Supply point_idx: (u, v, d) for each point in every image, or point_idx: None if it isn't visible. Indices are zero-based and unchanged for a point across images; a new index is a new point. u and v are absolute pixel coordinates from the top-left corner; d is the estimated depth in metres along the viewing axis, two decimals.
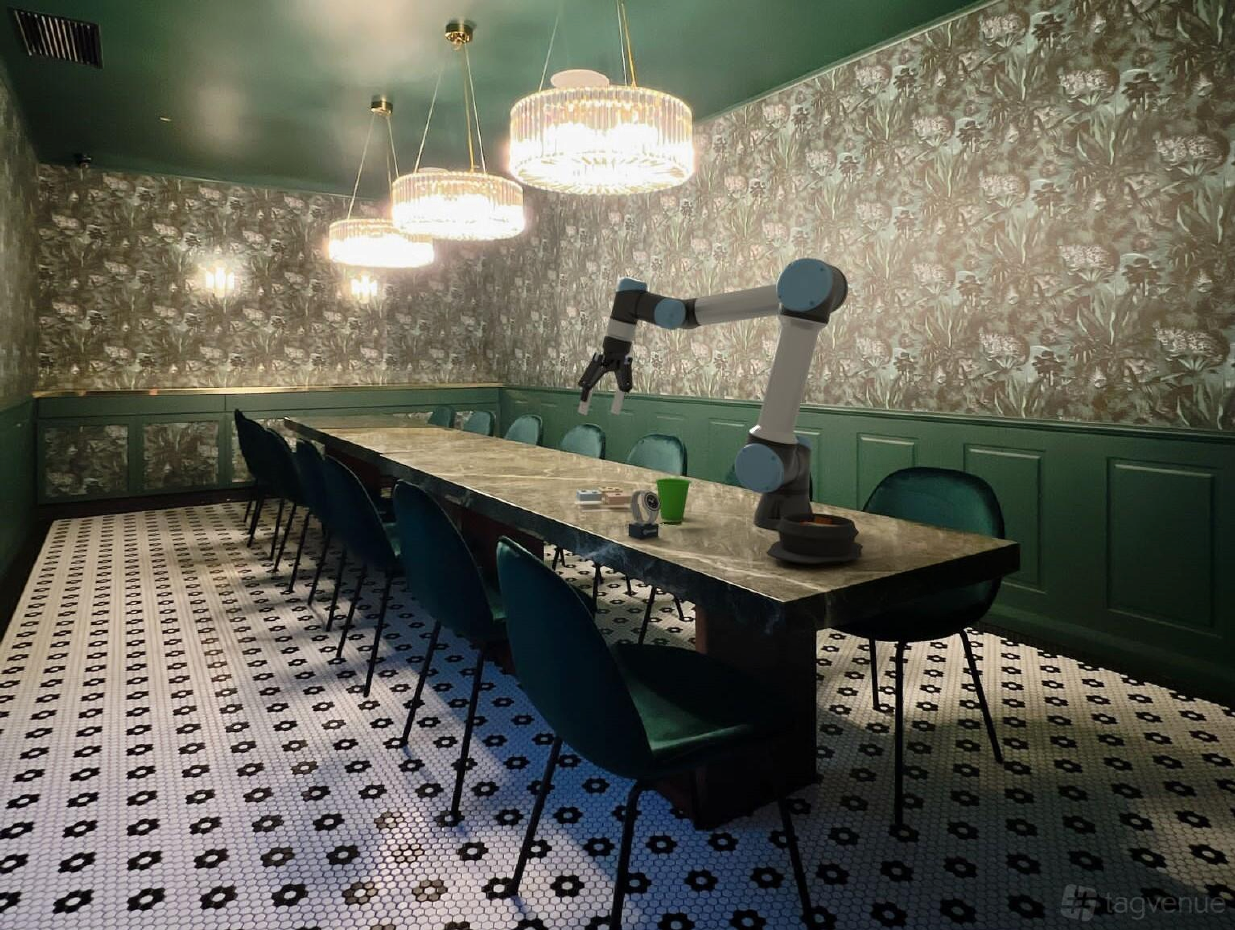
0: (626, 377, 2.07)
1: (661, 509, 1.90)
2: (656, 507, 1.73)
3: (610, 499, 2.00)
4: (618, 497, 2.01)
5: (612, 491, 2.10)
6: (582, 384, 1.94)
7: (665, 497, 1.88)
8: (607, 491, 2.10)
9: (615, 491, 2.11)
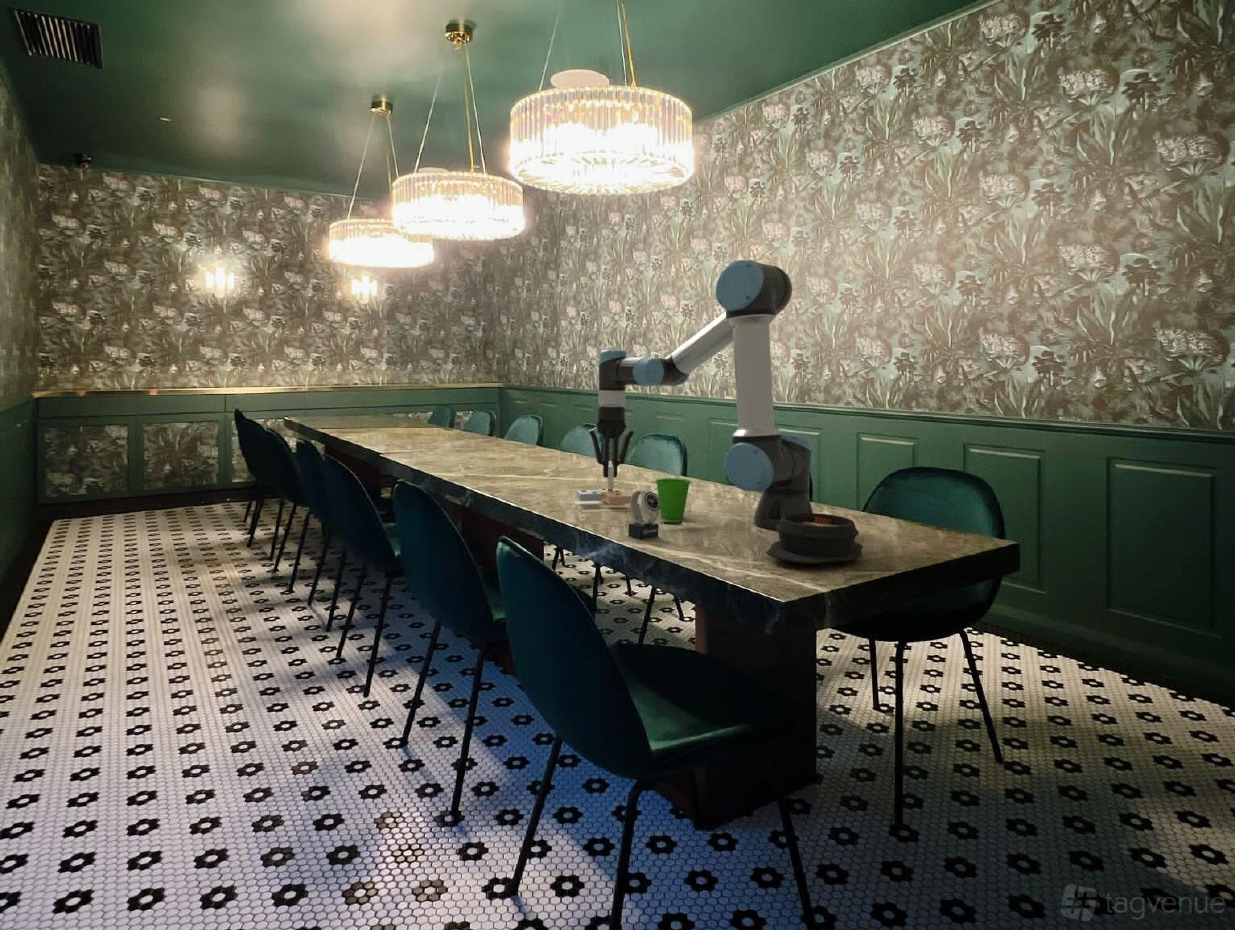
0: (622, 450, 2.13)
1: (661, 509, 1.90)
2: (656, 507, 1.73)
3: (610, 499, 2.00)
4: (618, 497, 2.01)
5: None
6: (598, 461, 2.11)
7: (665, 497, 1.88)
8: None
9: None
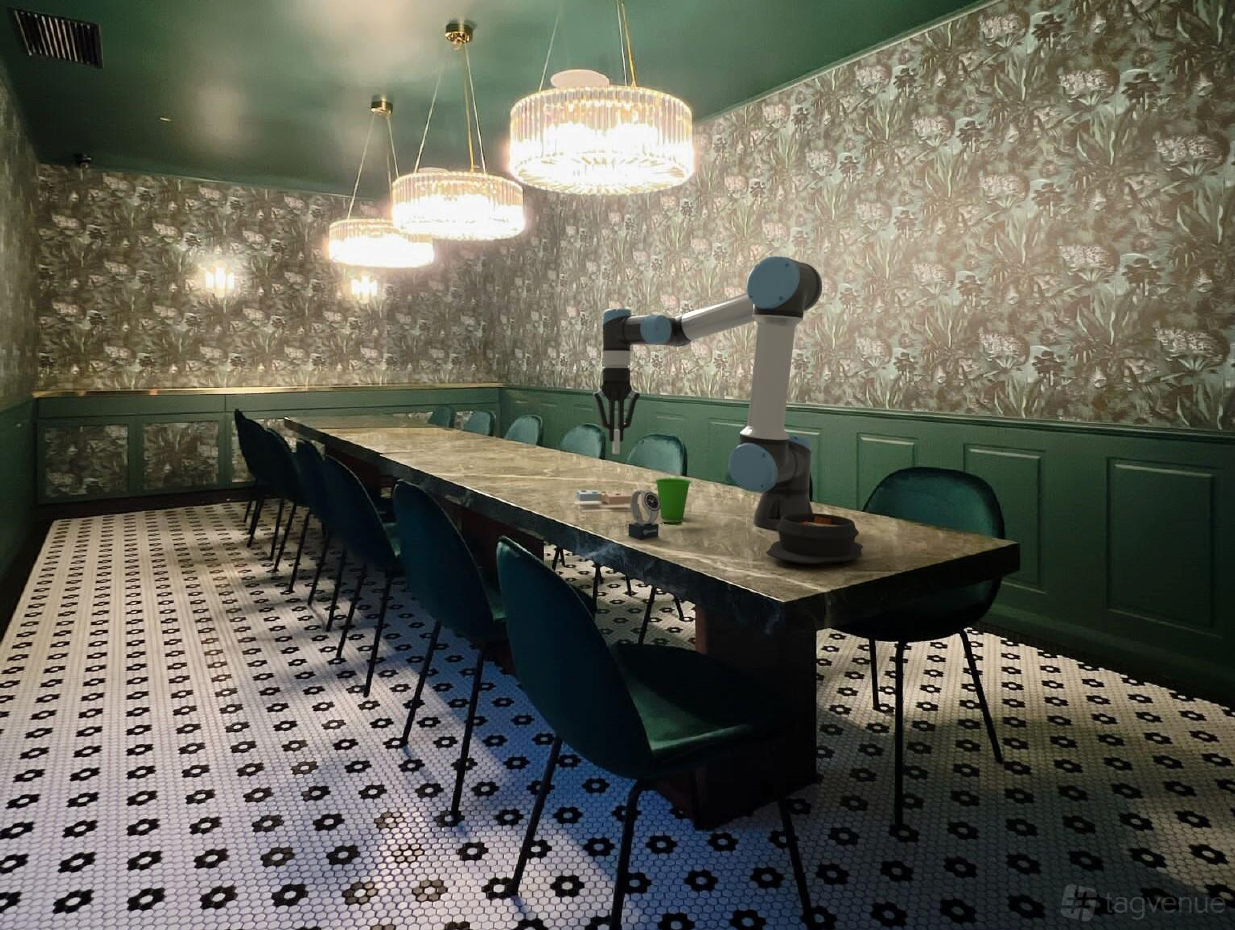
0: (628, 413, 2.06)
1: (661, 509, 1.90)
2: (656, 507, 1.73)
3: (610, 499, 2.00)
4: (618, 497, 2.01)
5: None
6: (603, 424, 2.05)
7: (665, 497, 1.88)
8: None
9: None
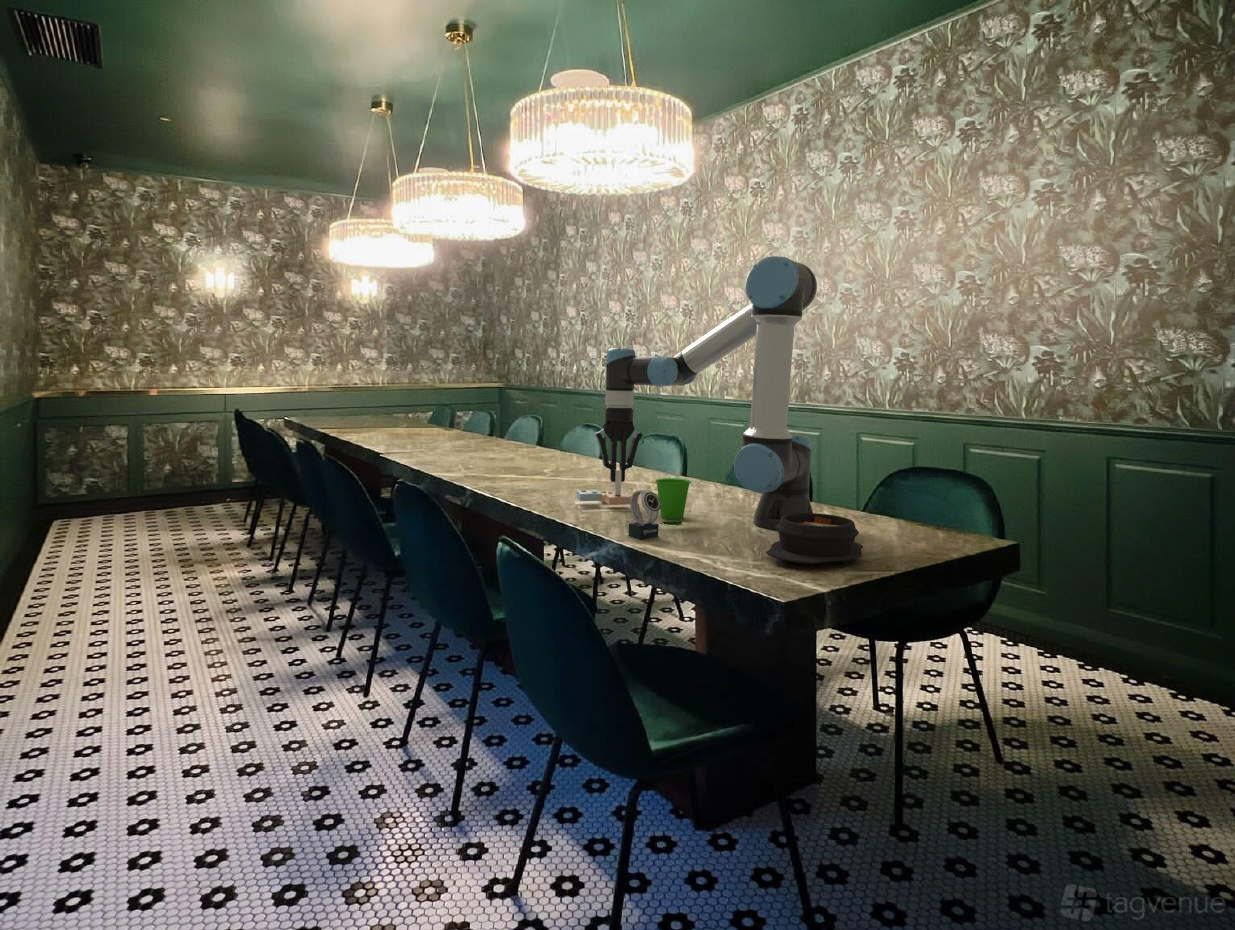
0: (630, 453, 2.03)
1: (661, 509, 1.90)
2: (656, 507, 1.73)
3: (610, 500, 2.00)
4: (618, 498, 2.01)
5: None
6: (605, 464, 2.02)
7: (665, 497, 1.88)
8: None
9: None
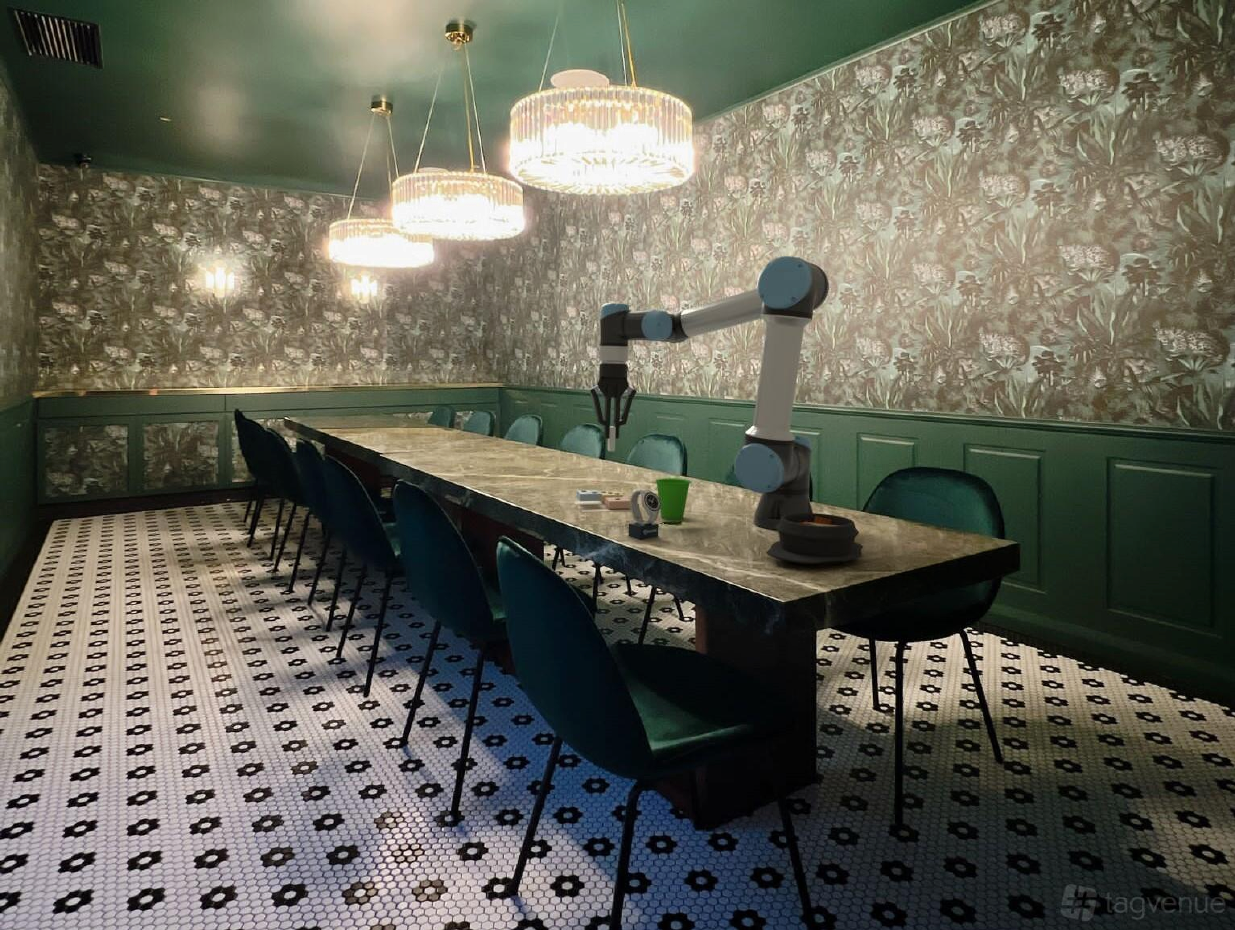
0: (624, 409, 2.02)
1: (661, 509, 1.90)
2: (656, 507, 1.73)
3: (610, 504, 2.00)
4: (618, 502, 2.01)
5: (612, 496, 2.11)
6: (599, 421, 2.01)
7: (665, 497, 1.88)
8: (607, 496, 2.10)
9: (615, 496, 2.11)
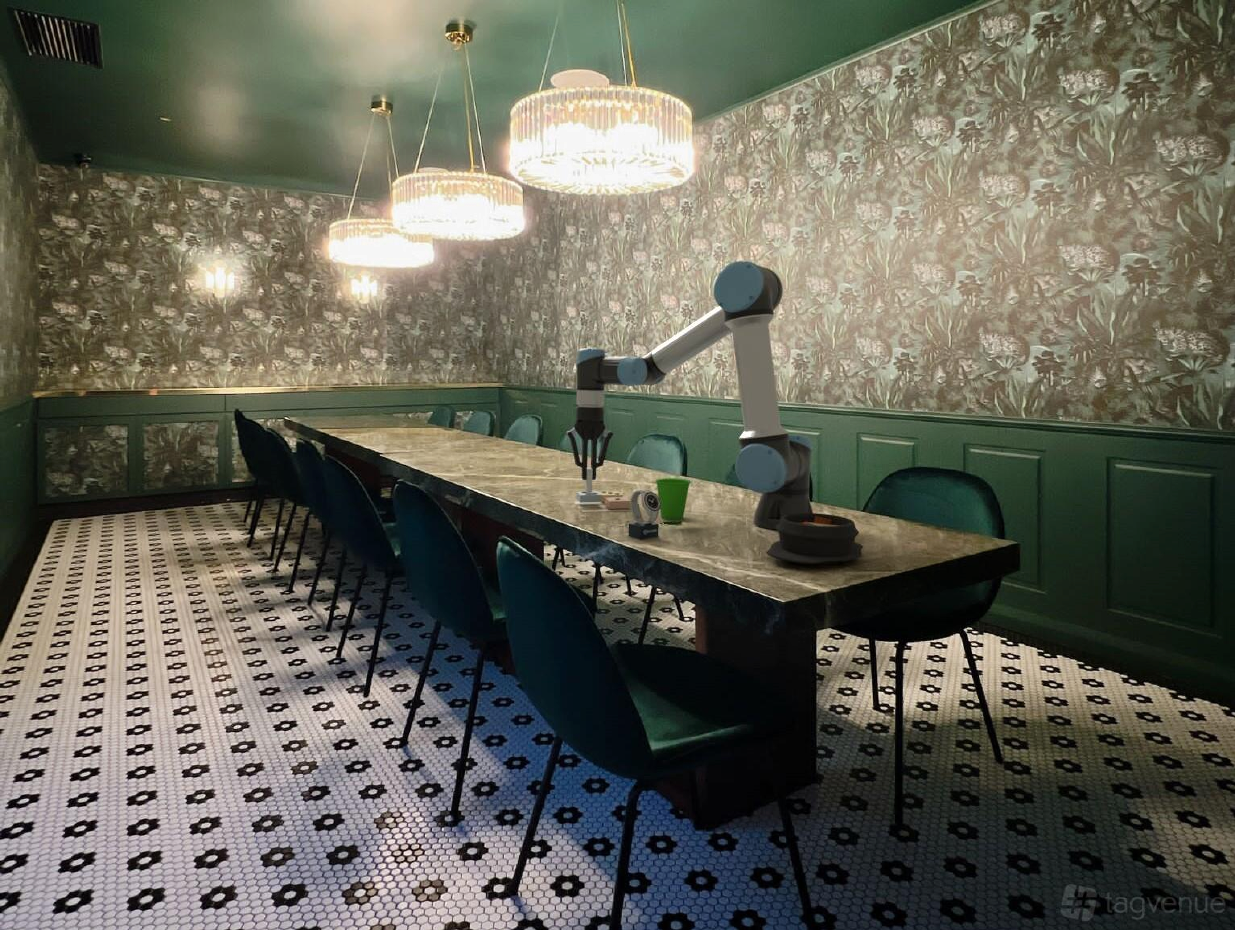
0: (601, 451, 2.06)
1: (661, 509, 1.90)
2: (656, 507, 1.73)
3: (610, 504, 2.00)
4: (618, 502, 2.01)
5: (612, 496, 2.11)
6: (576, 463, 2.05)
7: (665, 497, 1.88)
8: (607, 496, 2.10)
9: (615, 496, 2.11)
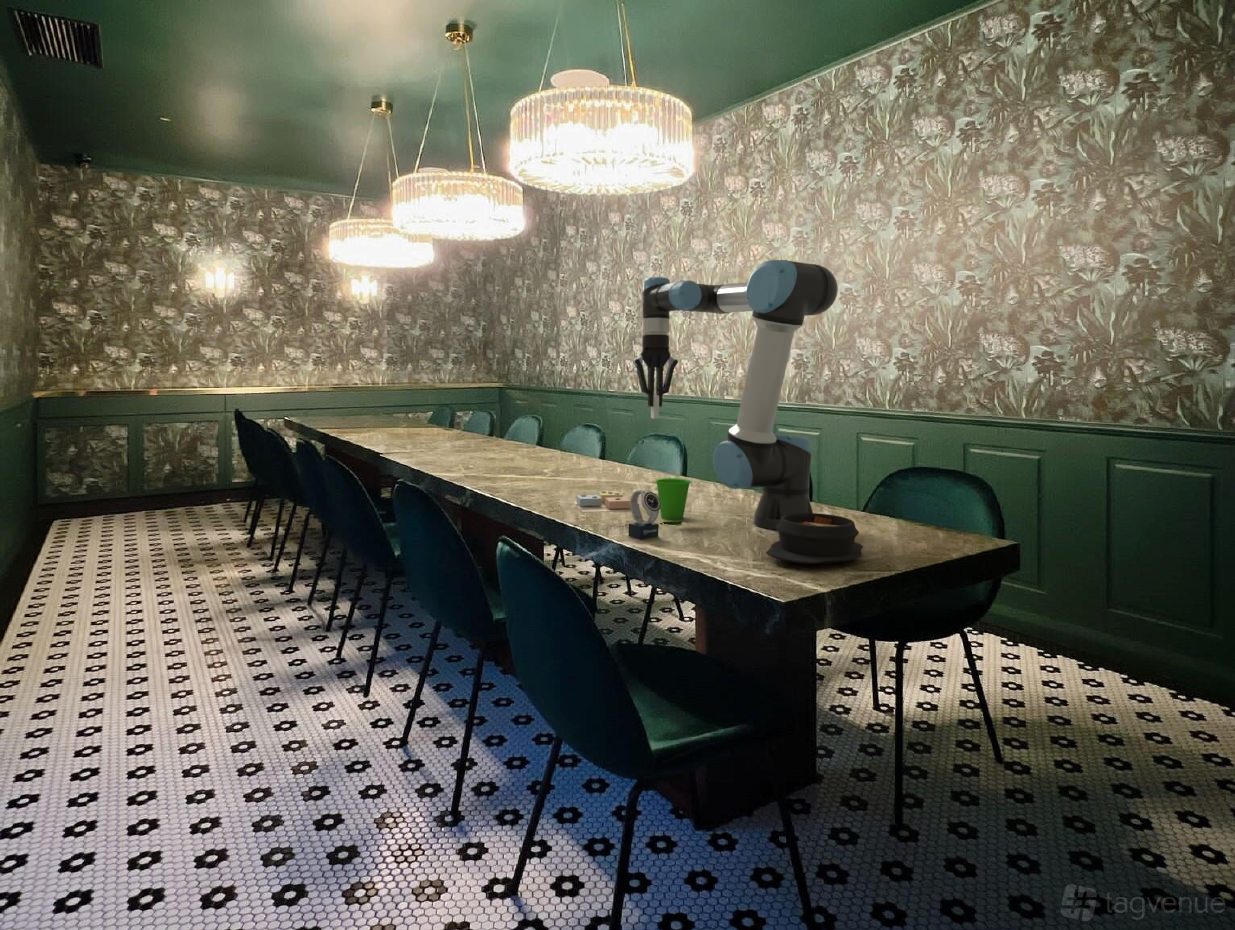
0: (666, 379, 2.13)
1: (661, 509, 1.90)
2: (656, 507, 1.73)
3: (610, 504, 2.00)
4: (618, 502, 2.01)
5: (612, 496, 2.11)
6: (643, 390, 2.11)
7: (665, 497, 1.88)
8: (607, 496, 2.10)
9: (615, 496, 2.11)
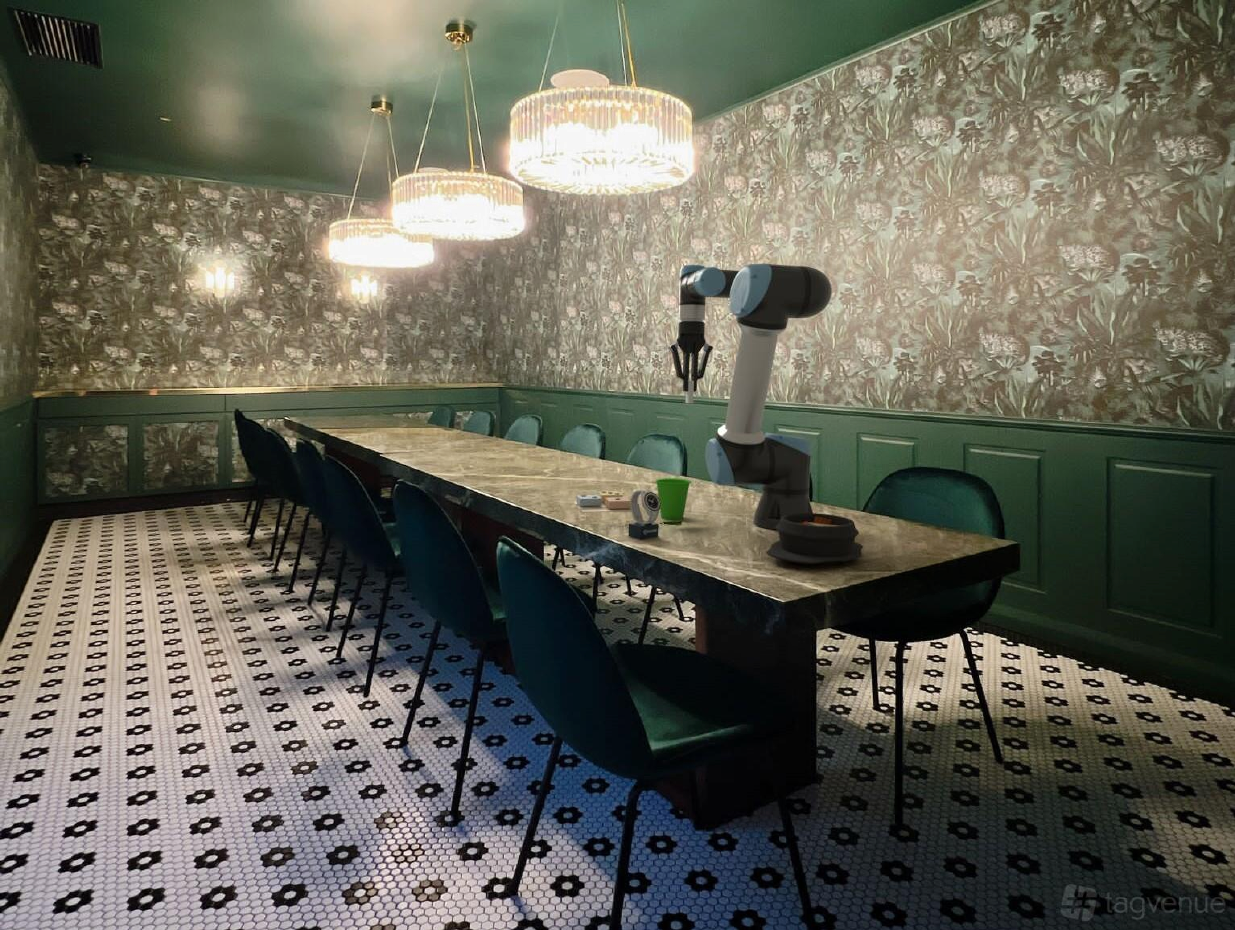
0: (701, 364, 2.18)
1: (661, 509, 1.90)
2: (656, 507, 1.73)
3: (610, 504, 2.00)
4: (618, 502, 2.01)
5: (612, 496, 2.11)
6: (678, 375, 2.17)
7: (665, 497, 1.88)
8: (607, 496, 2.10)
9: (615, 496, 2.11)
